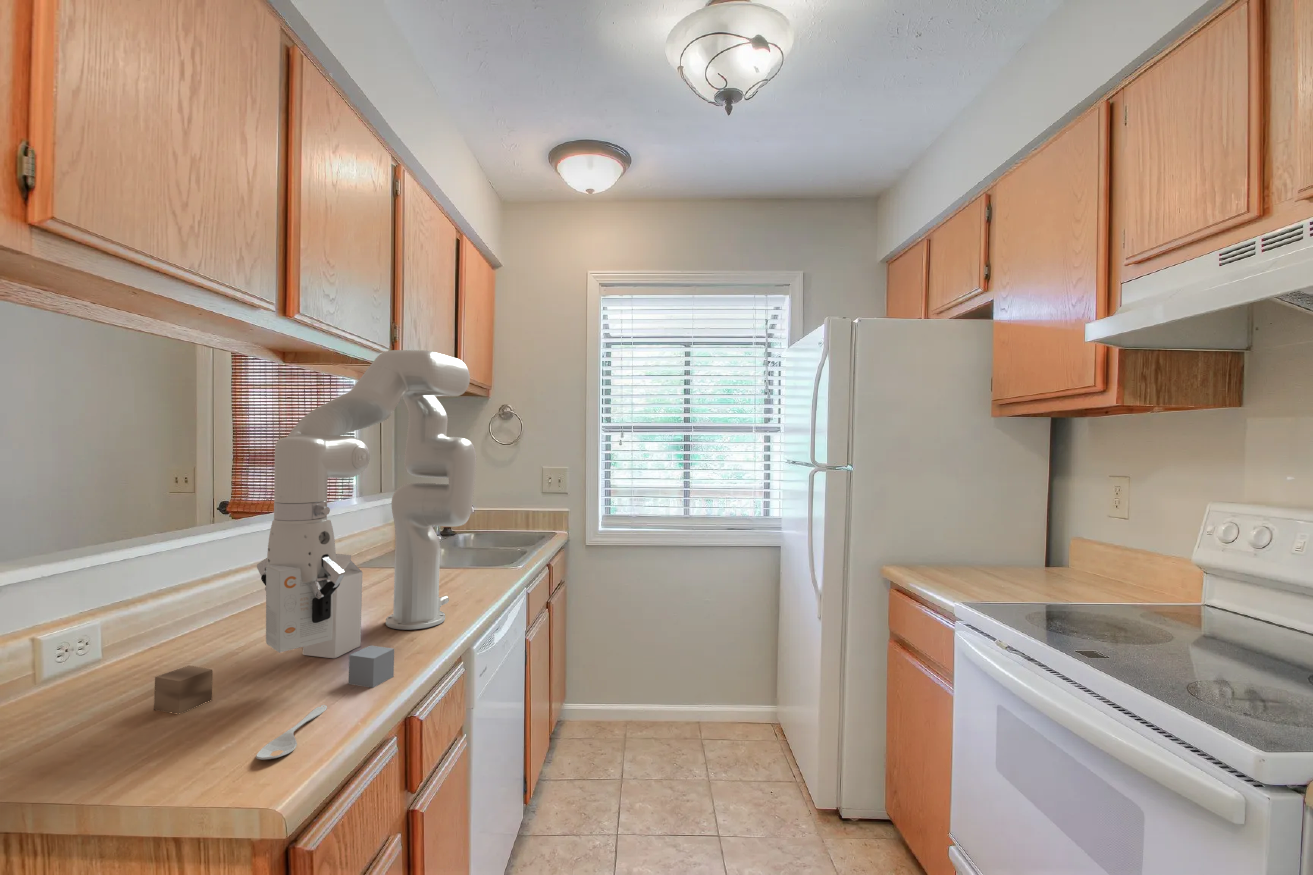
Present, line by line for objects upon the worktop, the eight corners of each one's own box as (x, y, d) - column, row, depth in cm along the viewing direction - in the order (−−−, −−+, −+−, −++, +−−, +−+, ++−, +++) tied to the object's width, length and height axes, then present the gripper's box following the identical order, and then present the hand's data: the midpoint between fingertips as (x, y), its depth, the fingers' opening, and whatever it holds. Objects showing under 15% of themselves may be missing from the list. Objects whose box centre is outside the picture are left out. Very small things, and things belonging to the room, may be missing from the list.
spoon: (244, 770, 75) (245, 757, 75) (318, 700, 96) (319, 689, 96) (279, 770, 76) (280, 757, 76) (345, 699, 96) (346, 689, 96)
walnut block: (187, 696, 95) (188, 665, 95) (211, 701, 94) (212, 669, 94) (153, 710, 90) (155, 677, 90) (178, 714, 89) (179, 681, 89)
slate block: (369, 673, 106) (370, 645, 106) (393, 677, 105) (394, 648, 105) (348, 684, 101) (349, 655, 101) (373, 688, 100) (373, 658, 100)
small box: (317, 631, 103) (318, 556, 103) (333, 640, 99) (334, 562, 99) (264, 643, 97) (265, 564, 97) (278, 653, 93) (279, 570, 93)
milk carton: (334, 659, 112) (337, 558, 112) (302, 655, 114) (305, 556, 114) (360, 646, 119) (363, 551, 119) (329, 643, 121) (332, 549, 121)
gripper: (362, 512, 99) (360, 616, 99) (279, 506, 104) (277, 605, 104) (325, 518, 92) (324, 630, 92) (238, 511, 97) (237, 618, 97)
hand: (299, 617), depth 98 cm, fingers closed on small box, 8 cm apart
